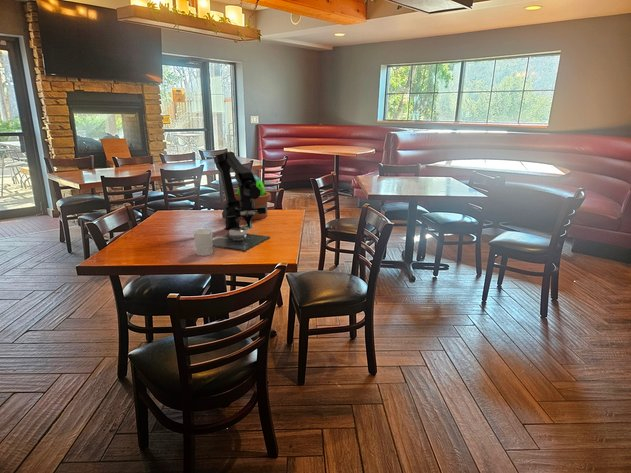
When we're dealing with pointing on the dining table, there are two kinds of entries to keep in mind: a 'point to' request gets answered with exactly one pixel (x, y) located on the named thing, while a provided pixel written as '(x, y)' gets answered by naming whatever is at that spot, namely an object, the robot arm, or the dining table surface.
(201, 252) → the white cup
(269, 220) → the dining table surface
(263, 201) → the potted cactus
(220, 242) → the lock base
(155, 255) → the dining table surface
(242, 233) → the teal-tipped lever
